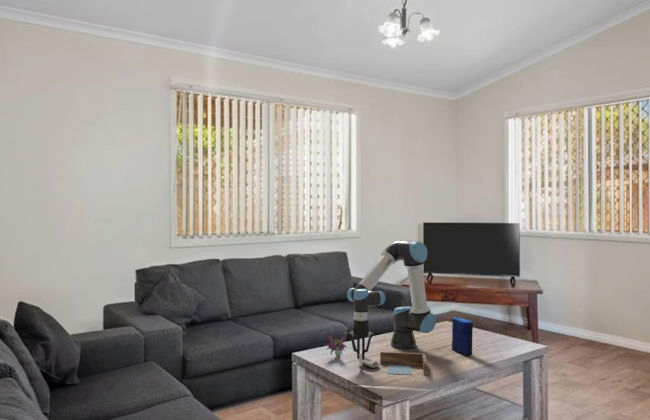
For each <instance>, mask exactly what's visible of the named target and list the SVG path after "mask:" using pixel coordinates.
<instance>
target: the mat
mask: <svg viewBox="0 0 650 420" xmlns="http://www.w3.org/2000/svg"><path fill="white" fill-rule="evenodd" d="M387 375H402V376H412V375H413V374H412V365H400V364H387Z"/></svg>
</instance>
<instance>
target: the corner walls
mask: <svg viewBox="0 0 650 420" xmlns="http://www.w3.org/2000/svg"><path fill="white" fill-rule="evenodd" d="M379 355H380V356H379V357H380V358H379V360H380V361H379V362H380V363H379V364H380V365H381V364H382V365H383V364H384V365H404V366H422V372H423V376H425V377H427V376H428V360H427V356H426V353H424V352H423V353H422V352H421V353H420V352H402V351H401V352H397V351H380V353H379Z"/></svg>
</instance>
